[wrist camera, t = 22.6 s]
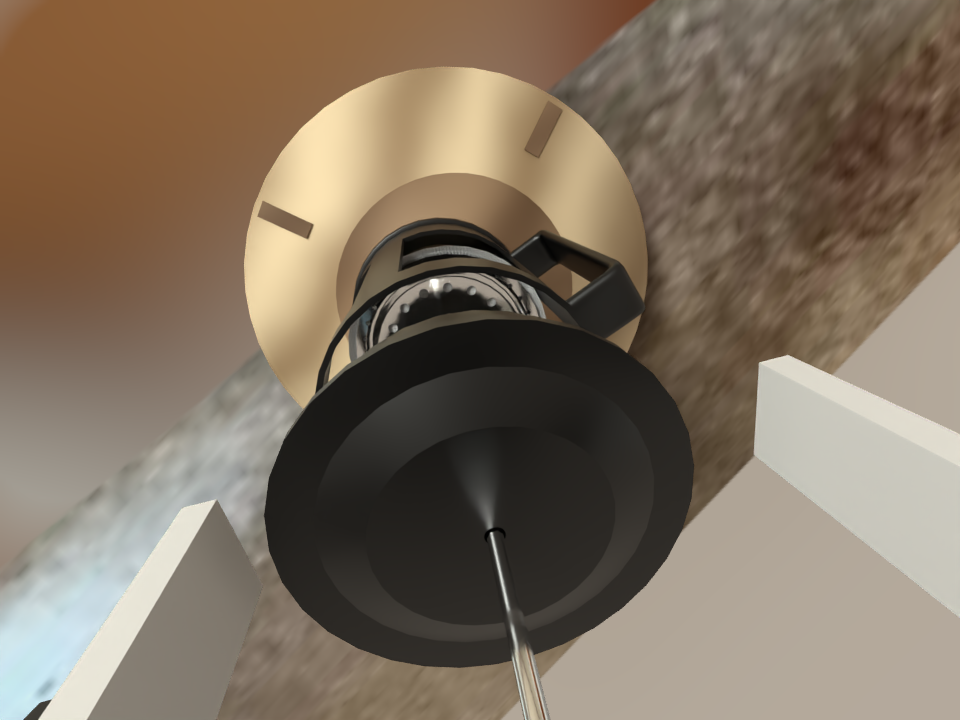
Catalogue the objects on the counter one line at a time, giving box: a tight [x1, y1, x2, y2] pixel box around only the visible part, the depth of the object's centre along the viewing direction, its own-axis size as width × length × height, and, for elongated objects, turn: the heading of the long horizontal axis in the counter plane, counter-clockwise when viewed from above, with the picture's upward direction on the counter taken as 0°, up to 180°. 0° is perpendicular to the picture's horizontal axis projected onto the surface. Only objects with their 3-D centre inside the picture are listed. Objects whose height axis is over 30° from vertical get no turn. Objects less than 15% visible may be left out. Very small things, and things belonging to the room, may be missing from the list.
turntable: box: [244, 67, 648, 409], centre depth 23 cm, size 22×22×9 cm
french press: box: [264, 217, 694, 720], centre depth 14 cm, size 12×9×23 cm
